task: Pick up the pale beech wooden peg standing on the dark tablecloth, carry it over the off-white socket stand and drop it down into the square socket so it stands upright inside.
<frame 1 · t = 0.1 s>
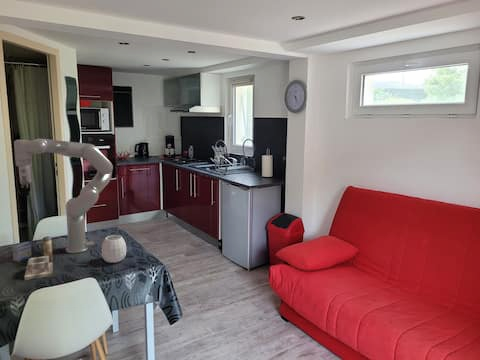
hand: (26, 193, 195), 37 cm above the table, tool pointing down, fingers open, 9 cm apart
socket stand: (39, 272, 182), on the table
medicine box: (22, 259, 197), on the table
peg: (48, 261, 194), on the table
white faceted vase: (114, 260, 200), on the table
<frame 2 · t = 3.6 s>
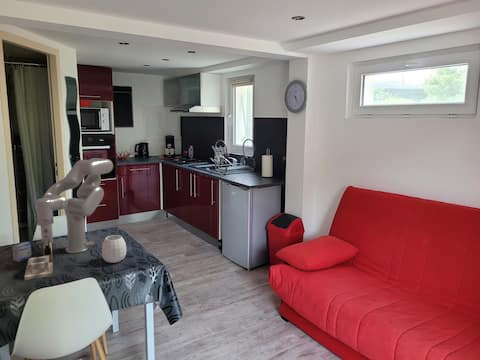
hand: (48, 252, 193), 5 cm above the table, tool pointing down, fingers closed on peg, 4 cm apart
peg: (48, 261, 194), on the table, touching gripper
everything else where it was.
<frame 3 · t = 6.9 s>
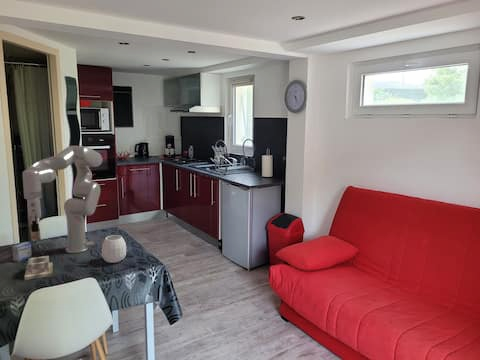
hand: (35, 229, 178), 23 cm above the table, tool pointing down, fingers closed on peg, 4 cm apart
peg: (36, 239, 178), point 18 cm above the table, touching gripper
everything else where it was.
when the fingers open (8 cm above the table, at t = 10.1 s): peg drops 1 cm, resting on socket stand.
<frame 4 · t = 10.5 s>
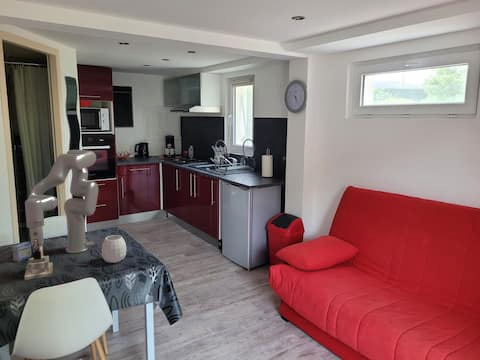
hand: (38, 255, 180), 9 cm above the table, tool pointing down, fingers open, 8 cm apart
peg: (39, 269, 182), point 2 cm above the table, touching socket stand
everything else where it was.
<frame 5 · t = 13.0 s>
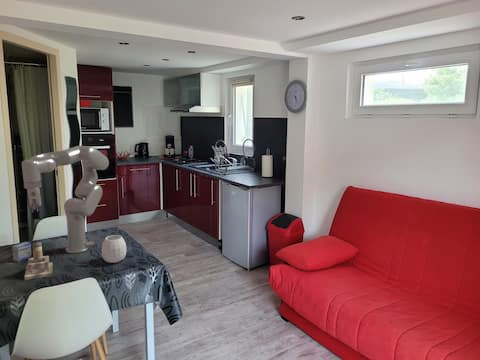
hand: (36, 216, 183), 28 cm above the table, tool pointing down, fingers open, 9 cm apart
nothing on the table moved.
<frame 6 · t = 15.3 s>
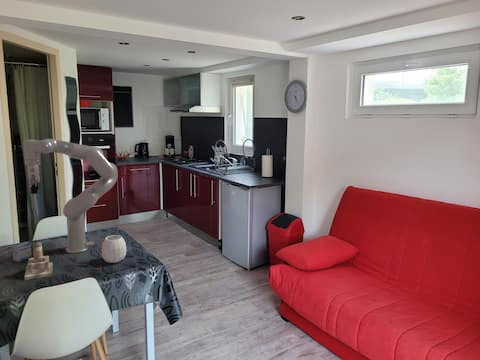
hand: (34, 191, 200), 36 cm above the table, tool pointing down, fingers open, 9 cm apart
nothing on the table moved.
at the end: peg 0.0 cm off-centre on the socket stand, point 1.5 cm above the socket stand's base; peg tilted 0°; the gripper is holding nothing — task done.
